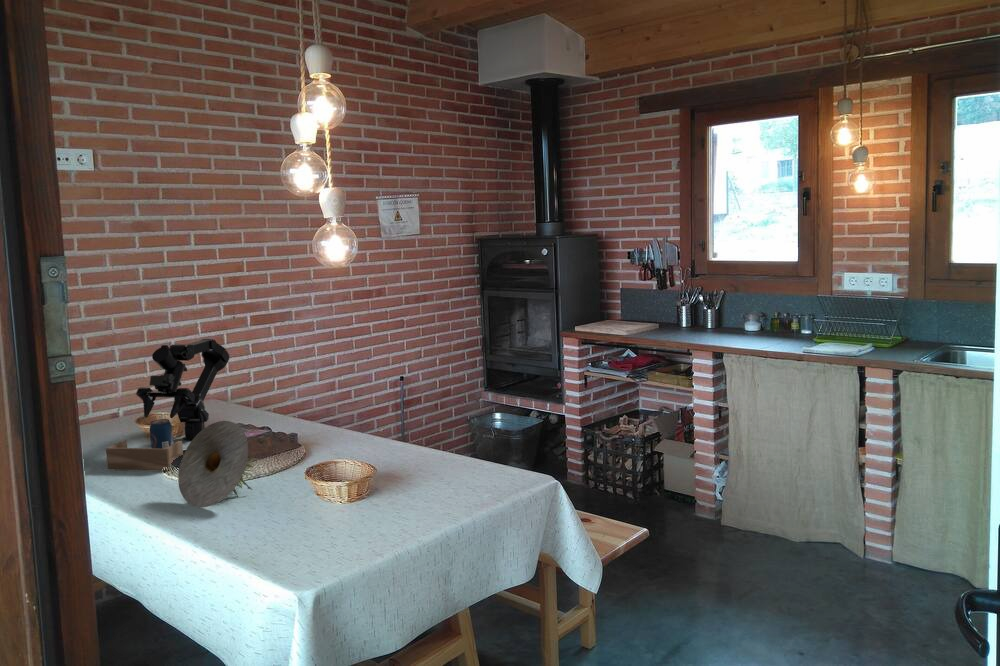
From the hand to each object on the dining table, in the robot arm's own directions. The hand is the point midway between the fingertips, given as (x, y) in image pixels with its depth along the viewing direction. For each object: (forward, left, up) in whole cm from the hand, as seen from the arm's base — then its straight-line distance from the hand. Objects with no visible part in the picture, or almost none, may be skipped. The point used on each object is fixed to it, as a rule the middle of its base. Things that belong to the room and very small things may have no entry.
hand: (158, 417), depth 267 cm
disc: (+23, +47, -14) cm, 54 cm away
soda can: (-1, 0, -14) cm, 14 cm away
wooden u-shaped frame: (+9, +3, -13) cm, 16 cm away
